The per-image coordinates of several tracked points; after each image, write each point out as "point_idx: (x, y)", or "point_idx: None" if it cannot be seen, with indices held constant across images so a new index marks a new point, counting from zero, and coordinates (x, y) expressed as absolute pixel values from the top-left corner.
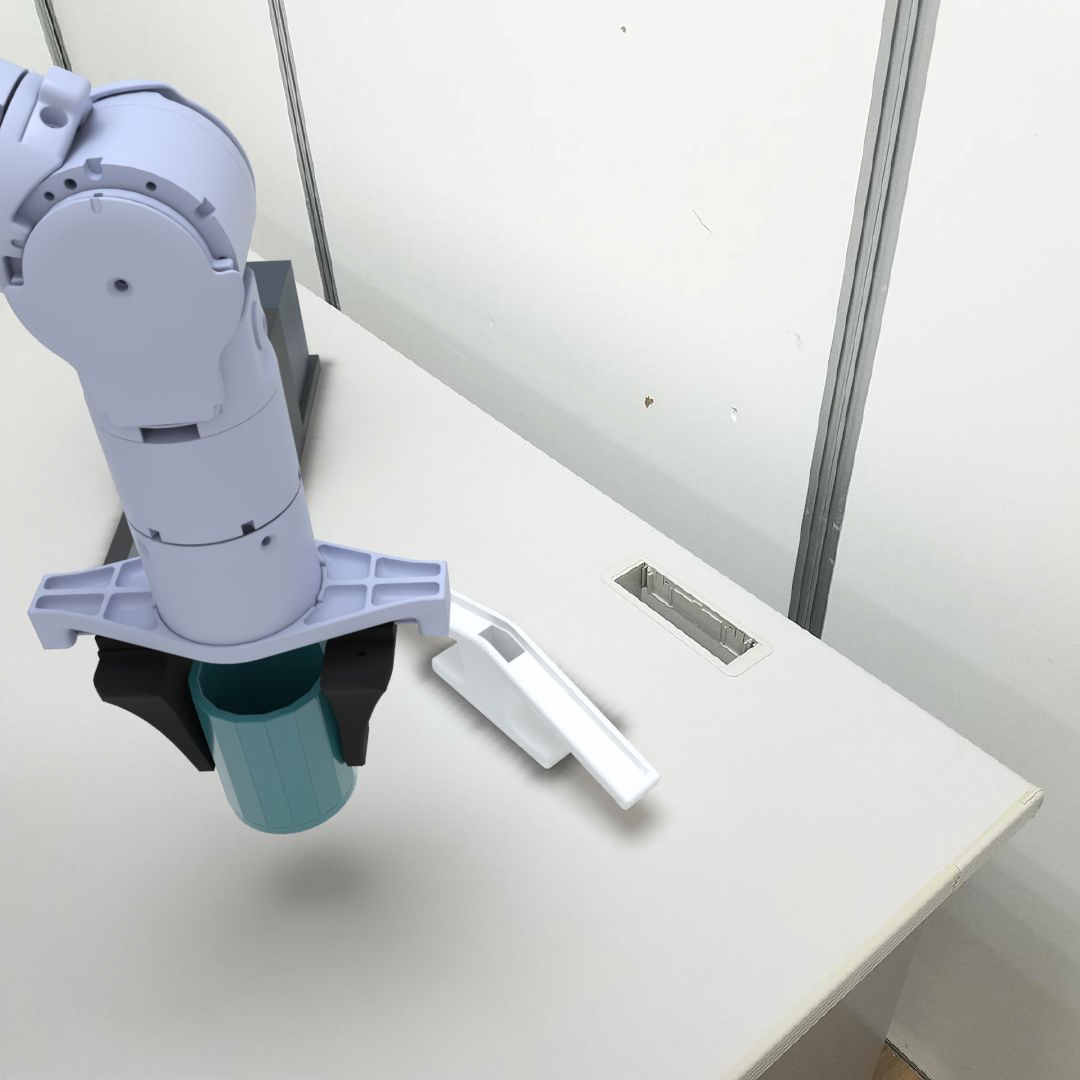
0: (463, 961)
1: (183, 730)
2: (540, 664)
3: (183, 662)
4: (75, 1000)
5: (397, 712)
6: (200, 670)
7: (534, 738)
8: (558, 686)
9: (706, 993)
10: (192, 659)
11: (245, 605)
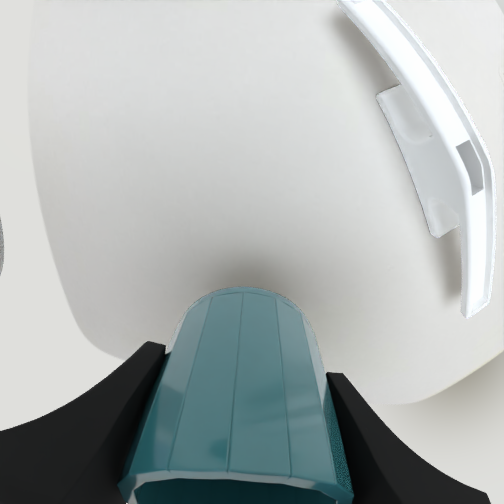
0: (331, 356)
1: None
2: (485, 203)
3: (108, 500)
4: (103, 323)
5: (337, 135)
6: (135, 497)
7: (437, 217)
8: (485, 226)
9: (428, 379)
10: (111, 464)
11: None
